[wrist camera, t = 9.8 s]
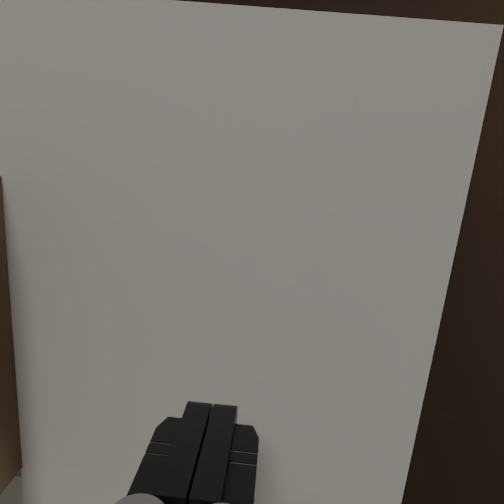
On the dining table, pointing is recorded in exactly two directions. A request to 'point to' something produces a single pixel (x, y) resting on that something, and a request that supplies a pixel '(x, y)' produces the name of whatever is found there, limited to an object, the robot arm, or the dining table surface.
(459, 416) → the dining table surface
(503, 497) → the dining table surface
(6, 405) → the t block
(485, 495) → the dining table surface
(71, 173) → the mat
